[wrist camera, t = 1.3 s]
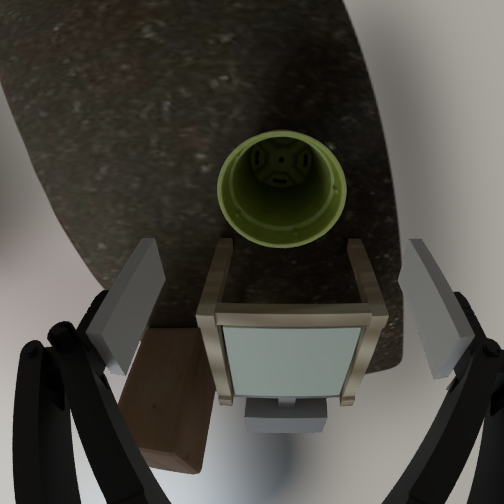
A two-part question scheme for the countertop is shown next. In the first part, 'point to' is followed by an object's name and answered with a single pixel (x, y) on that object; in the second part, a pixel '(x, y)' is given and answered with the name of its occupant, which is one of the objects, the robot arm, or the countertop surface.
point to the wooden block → (170, 399)
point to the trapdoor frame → (291, 318)
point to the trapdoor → (288, 373)
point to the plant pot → (281, 189)
